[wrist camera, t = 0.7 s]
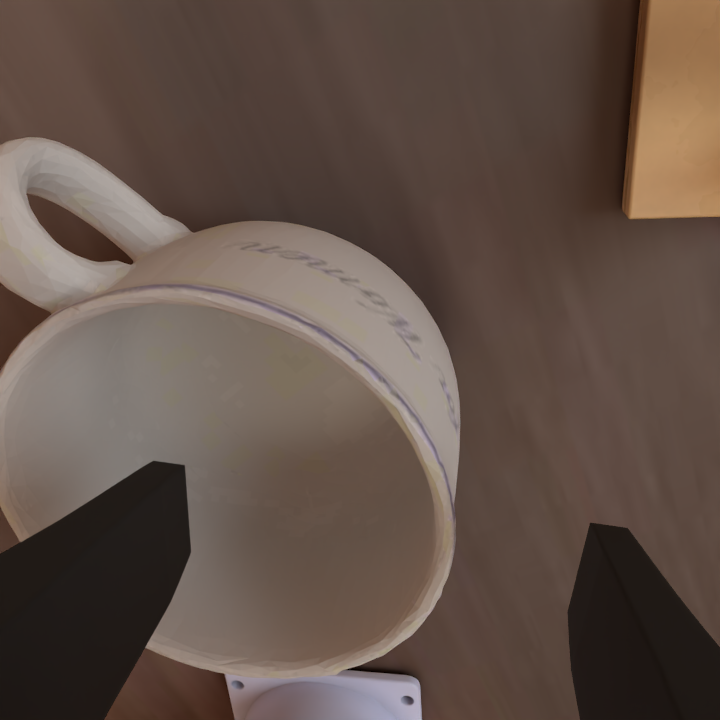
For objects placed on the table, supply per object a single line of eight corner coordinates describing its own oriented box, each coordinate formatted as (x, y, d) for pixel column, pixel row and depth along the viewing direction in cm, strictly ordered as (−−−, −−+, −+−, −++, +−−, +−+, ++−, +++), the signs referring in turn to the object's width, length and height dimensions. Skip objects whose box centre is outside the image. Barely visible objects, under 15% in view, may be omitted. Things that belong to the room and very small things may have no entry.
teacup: (508, 461, 22) (520, 667, 15) (221, 525, 25) (118, 720, 18) (351, 12, 17) (258, 4, 10) (19, 162, 20) (-229, 235, 13)
